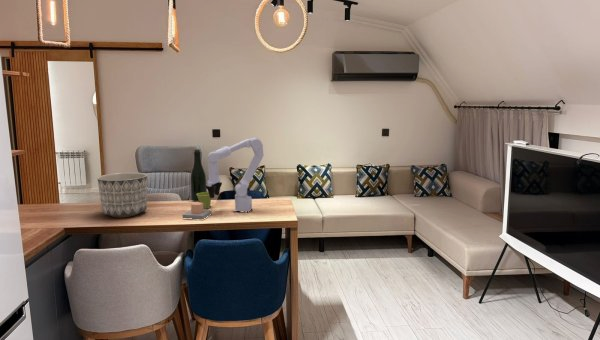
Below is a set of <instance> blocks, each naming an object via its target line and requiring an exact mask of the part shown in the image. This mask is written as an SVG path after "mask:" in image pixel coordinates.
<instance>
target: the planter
mask: <svg viewBox="0 0 600 340" xmlns="http://www.w3.org/2000/svg"><path fill="white" fill-rule="evenodd" d="M97 185H98V191H99V198H100V199H99V200H100V206H101V210H102V213H103V214H104V215H106V216H111V217H112V218H130V217H135V216H137V215H139V214H140V213H142V212H143V213H144V211H146V210H147V208H148V174H146V173H143V172H116V173H107V174H104V175H100V176H98V177H97Z"/></svg>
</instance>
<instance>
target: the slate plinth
mask: <svg viewBox="0 0 600 340" xmlns="http://www.w3.org/2000/svg"><path fill="white" fill-rule="evenodd" d="M212 211H213V210H209V209H204V212H202V213H200V214H194V213H191V209H190V210H188V211H186V212H185V213H183V214H182V219H183V218H192V219H204V218H206V217H207V216H209V215H210V214H213V212H212ZM210 216H211V215H210ZM210 216H209V217H210ZM207 218H208V217H207ZM207 218H206V219H207ZM204 220H205V219H204Z"/></svg>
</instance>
